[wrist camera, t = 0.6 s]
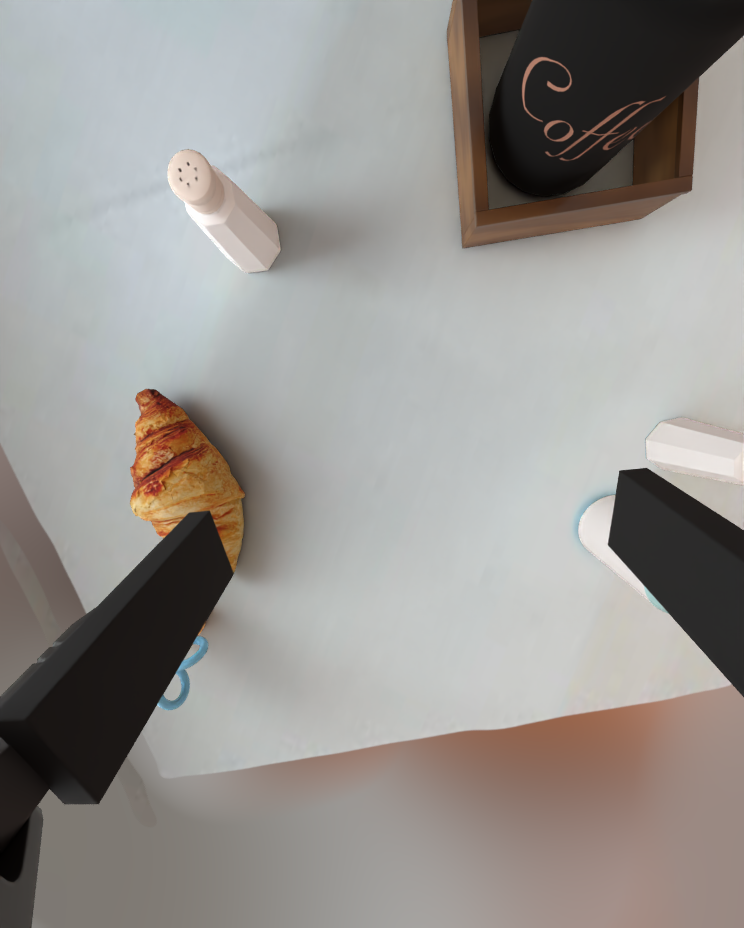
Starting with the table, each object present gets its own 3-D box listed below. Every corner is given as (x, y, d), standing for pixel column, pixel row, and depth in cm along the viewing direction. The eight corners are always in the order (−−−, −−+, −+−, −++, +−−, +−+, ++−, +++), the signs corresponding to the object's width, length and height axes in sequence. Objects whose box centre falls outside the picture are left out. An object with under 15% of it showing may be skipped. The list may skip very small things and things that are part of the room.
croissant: (266, 552, 43) (279, 578, 36) (178, 592, 39) (174, 630, 32) (198, 380, 38) (198, 371, 31) (89, 407, 34) (61, 404, 27)
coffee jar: (462, 171, 30) (577, -108, 13) (521, 24, 28) (763, -571, 10) (572, 223, 31) (821, 28, 14) (639, 85, 29) (1048, -371, 11)
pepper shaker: (261, 195, 31) (198, 99, 20) (293, 255, 32) (250, 194, 21) (210, 229, 32) (124, 154, 21) (244, 286, 33) (178, 243, 22)
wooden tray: (445, 30, 28) (459, -45, 23) (650, -11, 27) (710, -97, 22) (461, 249, 32) (476, 226, 27) (641, 220, 31) (692, 190, 26)
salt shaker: (635, 464, 36) (742, 502, 26) (653, 412, 35) (775, 428, 24) (686, 473, 36) (814, 513, 26) (706, 421, 35) (850, 441, 24)
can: (578, 559, 39) (663, 637, 27) (571, 500, 37) (659, 557, 26) (643, 546, 38) (759, 620, 27) (640, 486, 37) (761, 537, 25)
